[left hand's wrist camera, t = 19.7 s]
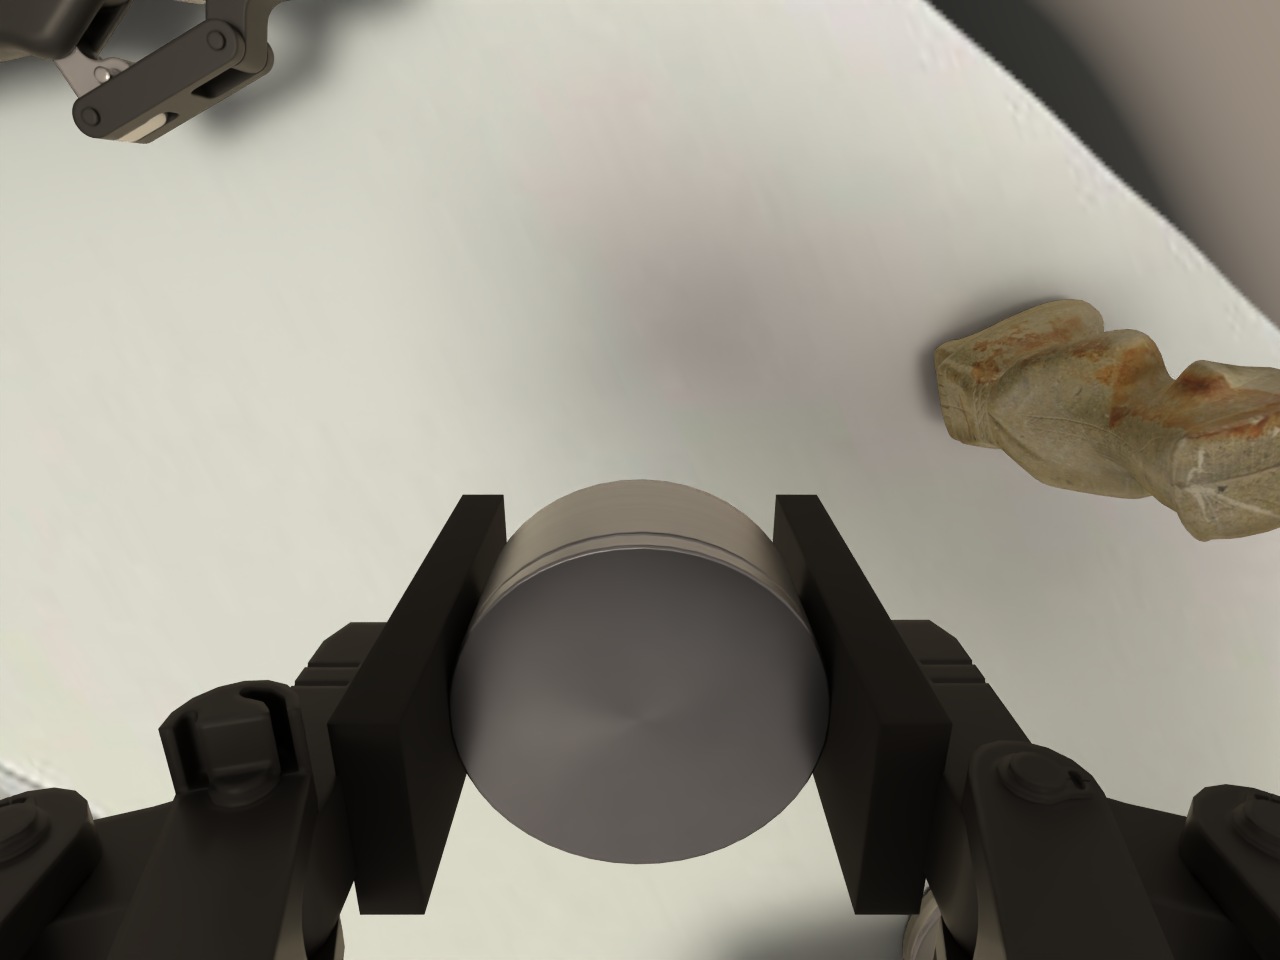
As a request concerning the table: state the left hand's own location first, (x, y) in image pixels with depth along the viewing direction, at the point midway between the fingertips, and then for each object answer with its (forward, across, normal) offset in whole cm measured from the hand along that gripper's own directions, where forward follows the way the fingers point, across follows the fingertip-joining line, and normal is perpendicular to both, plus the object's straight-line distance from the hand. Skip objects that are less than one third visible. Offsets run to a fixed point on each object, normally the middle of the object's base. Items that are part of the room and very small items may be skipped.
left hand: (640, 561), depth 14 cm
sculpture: (+20, -16, 0) cm, 26 cm away
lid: (-4, 0, 0) cm, 4 cm away
